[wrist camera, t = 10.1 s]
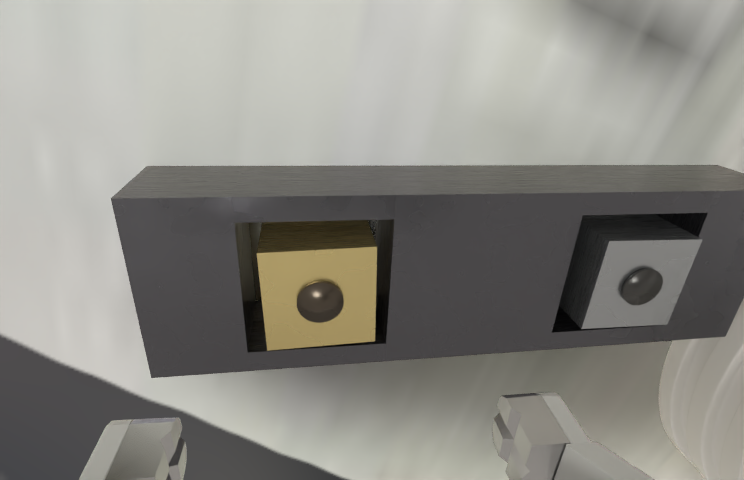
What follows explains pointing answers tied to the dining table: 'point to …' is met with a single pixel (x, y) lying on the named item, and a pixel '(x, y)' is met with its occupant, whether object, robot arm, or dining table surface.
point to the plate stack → (707, 401)
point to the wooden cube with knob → (317, 283)
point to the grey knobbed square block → (627, 270)
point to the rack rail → (414, 256)
